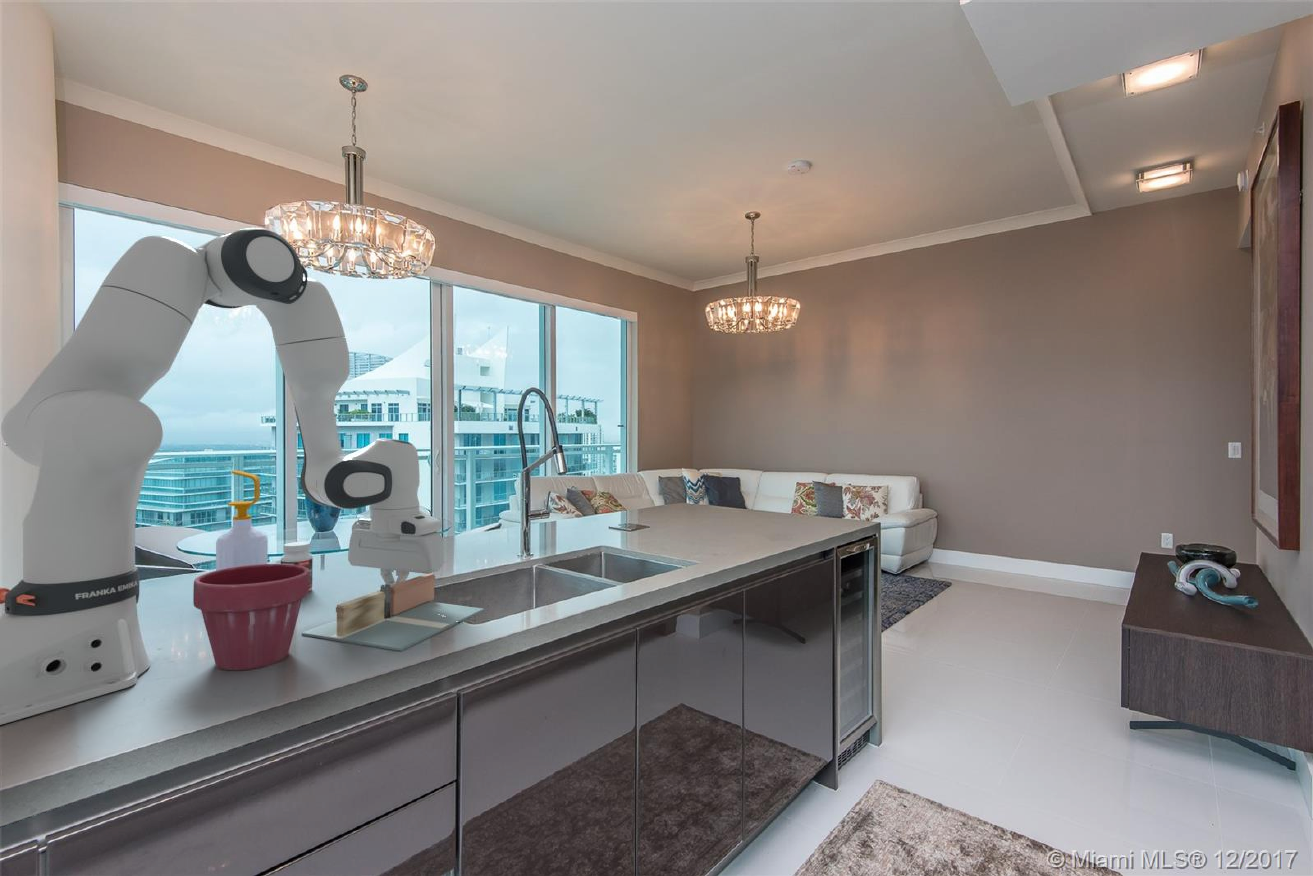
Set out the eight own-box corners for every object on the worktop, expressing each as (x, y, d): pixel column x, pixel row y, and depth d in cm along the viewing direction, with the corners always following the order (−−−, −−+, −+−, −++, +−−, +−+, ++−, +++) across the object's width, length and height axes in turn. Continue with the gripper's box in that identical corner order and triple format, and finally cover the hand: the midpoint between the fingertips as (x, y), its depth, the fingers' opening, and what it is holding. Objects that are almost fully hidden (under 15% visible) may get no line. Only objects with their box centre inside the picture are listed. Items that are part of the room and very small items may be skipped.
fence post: (385, 619, 108) (385, 587, 108) (378, 618, 108) (378, 586, 108) (392, 617, 109) (392, 585, 109) (384, 616, 110) (385, 584, 110)
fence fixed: (344, 636, 99) (344, 606, 99) (335, 635, 100) (335, 605, 100) (385, 620, 108) (385, 592, 108) (376, 619, 108) (377, 591, 108)
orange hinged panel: (394, 615, 110) (394, 587, 110) (386, 614, 110) (386, 586, 110) (434, 598, 120) (435, 573, 120) (427, 598, 121) (427, 572, 121)
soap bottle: (221, 582, 132) (221, 469, 131) (270, 578, 135) (270, 468, 135) (211, 593, 123) (211, 472, 123) (264, 589, 127) (264, 471, 127)
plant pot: (312, 637, 100) (313, 559, 100) (304, 668, 87) (304, 579, 87) (206, 649, 94) (206, 566, 94) (180, 685, 81) (180, 589, 81)
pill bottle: (301, 595, 123) (301, 546, 123) (274, 595, 123) (274, 546, 123) (318, 588, 129) (318, 541, 129) (291, 587, 129) (291, 540, 129)
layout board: (400, 651, 94) (400, 648, 94) (301, 635, 101) (301, 632, 101) (483, 610, 115) (483, 608, 115) (397, 599, 122) (397, 597, 122)
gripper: (340, 520, 119) (339, 590, 120) (427, 527, 113) (426, 601, 113) (364, 515, 125) (364, 582, 126) (448, 522, 119) (448, 592, 119)
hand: (394, 591), depth 119 cm, fingers closed
